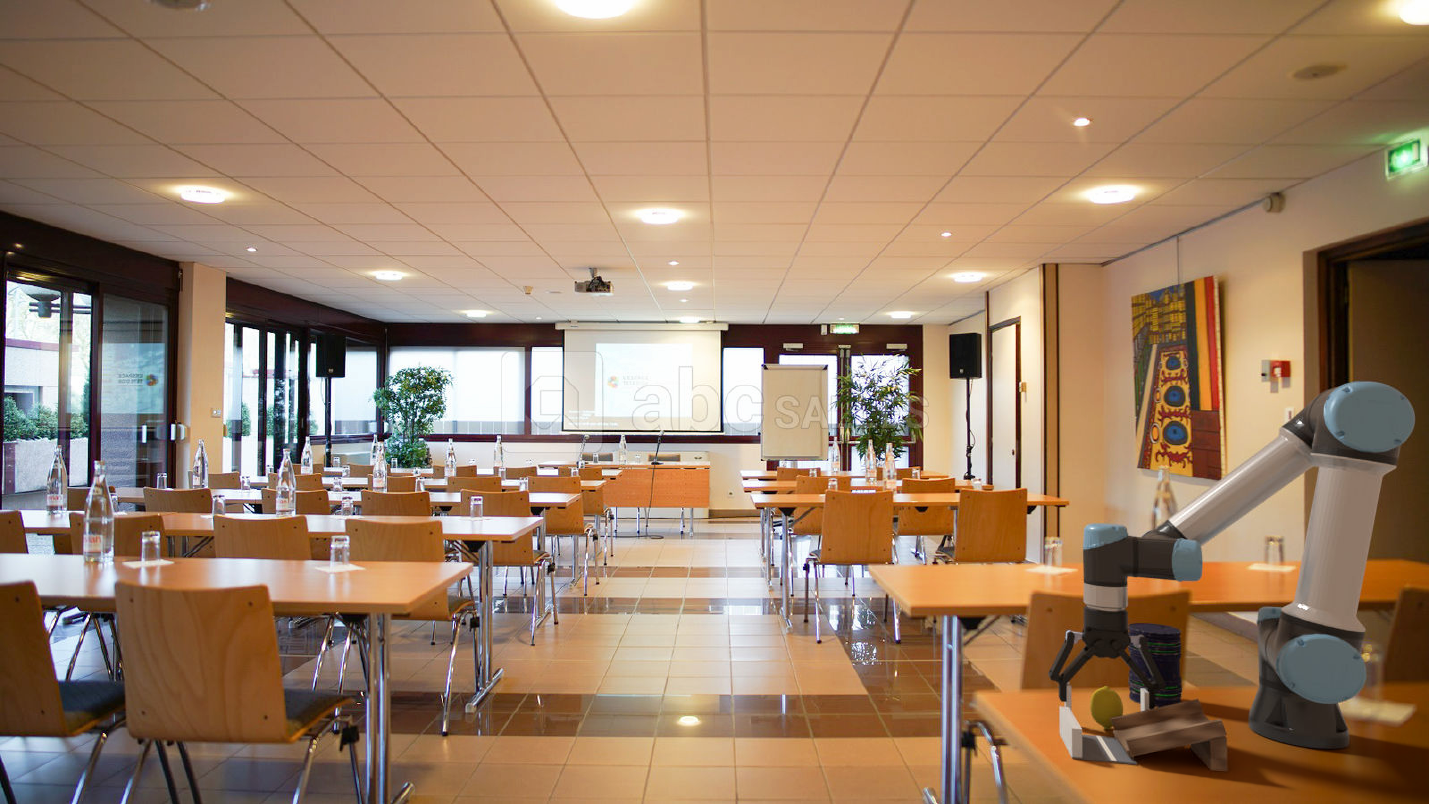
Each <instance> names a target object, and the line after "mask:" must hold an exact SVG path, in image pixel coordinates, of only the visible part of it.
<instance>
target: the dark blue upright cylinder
mask: <svg viewBox="0 0 1429 804" xmlns="http://www.w3.org/2000/svg"><path fill="white" fill-rule="evenodd" d="M1128 634H1129V636H1137V635H1138V634H1142V635H1143V636H1144V637H1145V638H1146V639H1147V642H1148V650H1149V652H1150V654H1151V656H1152V658H1153V660H1154V662H1155V664H1156V666H1157V668H1158V670H1159V672H1160V674H1161V676H1162V678H1163V680H1164V682H1165V684H1166V689H1164V690H1162V689H1160V690H1157V692H1156V693H1155V708H1159V707H1163V706H1168V705H1172V704H1177V703H1181V702H1183V701H1182V700H1181V699H1182V697H1183V695H1182V693H1183V685H1182V677H1181V667H1180V666H1181V661H1180V660H1181V658H1182V642H1181V640H1182V639H1181V629H1179V628H1177V627H1174V626H1170V625H1166V624H1165V625H1164V624H1159V623H1149V622H1148V623H1147V622H1146V623H1145V622H1135V623H1134V622H1133V623H1128ZM1127 649H1128V653H1129V656H1130V657H1131V659H1132V660H1133V661H1134V662H1135V664H1136V665H1137V666H1138V667H1139V669H1140V670H1141V671H1142V672H1143V673H1144V675H1145V676H1146V677H1147V678H1148V679H1149V681H1150V682H1153V681H1154V679H1153V677H1152V675H1151V673H1150V671H1149V669H1148V667H1147V665H1146V663H1145V661H1144V659H1143V657H1142V655H1141V653H1140V651H1139V649H1138V648H1137V647H1135V646H1134V644H1133V643H1132V642H1131V643H1130V645H1129V646H1128V647H1127ZM1141 688H1145V689H1146V687H1145V686H1144V685H1143V683H1142V682H1141V681H1140V680H1139V678H1138V677H1137V676H1136V675H1135V674H1134V672H1133V671H1132V670H1131V669H1130V668H1129V670H1128V689H1129V694H1128V695H1129V699H1130V700H1131V701H1133V702H1135V703H1137V704H1140V705H1141Z"/></svg>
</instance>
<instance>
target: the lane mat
mask: <svg viewBox="0 0 1429 804" xmlns="http://www.w3.org/2000/svg"><path fill="white" fill-rule="evenodd" d="M1096 736H1097V735H1092V734H1091V735H1090V734H1082V758H1081V759H1082V761H1083V760H1084V761H1091V762H1092V761H1093V762H1094V761H1095V762H1104V763H1112V762H1113V763H1115V762H1116V763H1115V764H1124V765H1135V766H1138V763H1137V761H1136V759H1135V758H1134V756H1132V757H1129V756H1128V755H1127V754H1126V752H1125V751H1124V749H1123V748H1122V746H1121V745H1120V743H1119V742H1118V741H1117V739H1116V738H1115V736H1113V737H1112V736H1102V735H1100V736H1101V737H1102V739H1103V741H1104V742H1105V744H1106V745H1107V747H1108V748H1109V750H1110V751H1111V753H1112V754H1113V756H1114V757H1115V759H1116V761H1111V759H1110V757H1109V756H1108V754H1107V753H1106V751H1105V750H1104V748H1103V746H1102V745H1101V743H1100V742H1099V740H1098V739H1097V737H1096ZM1060 737H1062V736H1060ZM1076 758H1077V759H1076ZM1076 758H1075V757H1074V758H1072V757H1071V759H1073V760H1081V759H1079V758H1078V757H1076Z"/></svg>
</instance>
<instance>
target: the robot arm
mask: <svg viewBox="0 0 1429 804" xmlns="http://www.w3.org/2000/svg"><path fill="white" fill-rule="evenodd" d="M1415 423H1416V416H1415V411H1414V408H1413V406H1412V403H1411V401H1410V400H1409V399H1408V398H1407V397H1406V396H1405V395H1404V394H1403V393H1402V392H1400V391H1399V389H1396V388H1395V387H1393V386H1390V385H1388V384H1384V383H1381V382H1376V381H1359V380H1358V381H1357V380H1356V381H1352V382H1348V383H1344V384H1342V385H1340V386H1335V387H1331V388H1329V389H1326V390H1324V391H1322V392H1321V393H1319V394H1318V395H1317V396H1315V397H1314V398H1313V399H1312V400H1311V401H1309V402H1308V404H1307V405H1306V406H1304V407H1303V408H1302V409H1301V410H1300V411H1299V412H1298V413H1296V415H1294V416H1293V417H1292V418H1291V419H1289V420H1288V421H1287V422H1286V423H1285V424H1283V425H1282V426H1280V428H1279V429H1278V436H1277V437H1276V438H1274V439H1273V440H1272V441H1270V442H1268V444H1267V445H1265V446H1264V447H1262V448H1260V450H1258V451H1256V452H1255V453H1254V454H1253V455H1251V456H1250V457H1249V458H1248V459H1246V460H1245V461H1243V462H1242V463H1241V464H1240V465H1238V466H1237V467H1235V468H1234V469H1233V470H1231V471H1230V472H1228V473H1227V474H1226V475H1225V476H1223V477H1222V478H1221V479H1219V480H1218V481H1216V483H1214V484H1213V485H1212V486H1210V487H1209V488H1208V489H1206V490H1205V491H1203V492H1202V493H1201V494H1200V495H1198V496H1197V497H1195V498H1194V499H1193V500H1191V501H1190V502H1189V503H1187V504H1185V506H1183V507H1182V508H1181V509H1179V510H1178V511H1177V512H1175V513H1174V514H1172V515H1171V516H1170V517H1168V519H1166V520H1165V521H1164V522H1162V523H1160V524H1159V525H1158V526H1156V527H1155V528H1154V529H1151V530H1149V531H1148V530H1147V531H1146V532H1145V533H1144V534H1142V536H1133V535H1129V532H1128V528H1127V527H1126V526H1125V525H1122V524H1116V523H1115V524H1114V523H1106V522H1105V523H1088V524H1087V525H1086V526H1085V527H1084V528H1083V544H1082V561H1083V563H1082V564H1083V566H1082V567H1083V569H1082V570H1083V603H1084V604H1085V606H1083V628H1082V631H1081V632H1080V631H1073V630H1071V629H1069V628H1068V629H1066V630H1065V632H1064V633H1065V634H1064V641H1063V643H1062V645H1061V648H1060V649H1059V651H1058V653H1057V655H1056V656H1055V659H1054V661H1053V663H1052V664H1051V667H1050V669H1049V671H1048V673H1047V675H1048V677H1049V678H1050V680H1051V681H1053V682H1056V683H1058V698H1059V700H1060V702H1062V703H1064V707H1069V708H1070V710H1071V712H1072V713H1073V711H1072V708H1073V707H1072V702H1073V701H1072V685H1071V684H1070V682H1071V680H1072V679H1073V678H1074V677H1075V675H1076V674H1077V673H1078V672H1079V671H1080V670H1081V669H1082V668H1083V666H1085V664H1087V662H1089V660H1091V659H1092V658H1093V657H1094V656H1095V657H1097V659H1098V658H1099V659H1104V658H1108V659H1113V660H1116V659H1117V658H1121V659H1122V660H1123V661H1124V663H1125V664H1126V665H1127V667H1128V668H1129V670H1130V669H1131V670H1132V671H1133V672H1134V674H1135V675H1136V676H1137V677H1138V678H1139V680H1140V681H1141V682H1142V683H1143V685H1144V686H1145V687H1146V689H1145V688H1141V704H1140V711H1145V710H1150V709H1154V708H1156V707H1155V693H1156V692H1157V690H1160V689H1162V690H1164V689H1166V684H1165V682H1164V680H1163V678H1162V676H1161V674H1160V672H1159V670H1158V668H1157V666H1156V664H1155V662H1154V660H1153V658H1152V656H1151V654H1150V652H1149V650H1148V642H1147V639H1146V638H1145V637H1144V636H1143V635H1142V634H1138V635H1137V636H1129V629H1128V625H1129V612H1128V610H1127V609H1126V608H1128V606H1129V599H1128V593H1129V592H1128V590H1129V589H1128V584H1129V583H1128V577H1131V578H1145V579H1154V580H1155V579H1156V580H1167V581H1175V582H1176V581H1177V582H1180V583H1182V582H1198V581H1199V580H1201V578H1202V577H1203V576H1202V575H1203V560H1204V559H1203V551H1202V546H1204V545H1205V544H1207V543H1208V542H1209V541H1211V540H1212V539H1214V538H1216V537H1217V536H1218V535H1219V534H1221V533H1222V532H1224V531H1225V530H1226V529H1228V528H1229V527H1231V526H1232V525H1233V524H1235V523H1236V522H1238V521H1239V520H1240V519H1242V518H1243V517H1245V516H1246V515H1248V514H1249V513H1250V512H1251V511H1253V510H1254V509H1256V508H1257V507H1259V506H1260V505H1261V504H1263V503H1264V502H1266V501H1267V500H1268V499H1270V498H1271V497H1272V496H1274V495H1275V494H1276V493H1278V492H1279V491H1281V490H1282V489H1284V488H1285V487H1286V486H1288V485H1290V484H1291V483H1292V482H1293V481H1295V480H1296V479H1298V478H1299V477H1300V476H1302V475H1303V474H1304V473H1306V472H1307V471H1308V470H1310V469H1312V468H1314V467H1315V468H1316V467H1317V468H1318V471H1317V478H1316V483H1315V487H1314V495H1313V498H1312V505H1311V510H1310V513H1309V520H1308V526H1307V529H1306V536H1305V541H1304V547H1303V553H1302V556H1301V562H1300V563H1301V564H1300V566H1299V572H1298V573H1299V574H1298V578H1297V584H1296V588H1295V589H1296V590H1295V595H1294V600H1293V601H1292V602H1291V603H1289V604H1287V605H1285V606H1283V607H1278V606H1276V607H1275V606H1262V607H1260V608H1259V610H1258V611H1257V619H1256V626H1257V648H1258V649H1257V651H1258V653H1257V655H1258V657H1257V658H1258V688H1257V690H1256V693H1255V696H1254V699H1253V700H1252V701H1253V702H1252V705H1251V707H1250V709H1249V712H1248V728H1250V730H1251V731H1253V732H1255V733H1256V734H1258V735H1260V736H1262V737H1265V738H1267V739H1271V740H1274V741H1276V742H1281V743H1283V744H1289V745H1293V746H1298V747H1303V748H1311V749H1312V748H1313V749H1326V750H1329V749H1330V750H1332V749H1333V750H1334V749H1335V750H1336V749H1343V748H1347V747H1348V746H1350V731H1349V727H1348V725H1347V722H1346V720H1345V717H1344V714H1343V713H1342V709H1341V708H1340V705H1339V704H1340V703H1343V702H1347V701H1349V700H1351V699H1352V698H1354V697H1355V696H1357V695H1358V694H1359V693H1360V692H1361V691H1362V689H1363V688H1364V685H1365V684H1366V681H1367V666H1366V664H1365V663H1366V662H1365V659H1364V658H1363V656H1362V651H1363V644H1364V641H1365V634H1366V629H1367V628H1365V626H1364V625H1363V624H1362V623H1361V621H1360V620H1359V619H1358V617H1357V612H1358V608H1359V602H1360V597H1361V592H1362V586H1363V583H1364V578H1365V571H1366V565H1367V561H1368V556H1369V550H1370V545H1371V540H1372V534H1373V529H1374V524H1375V520H1376V519H1375V518H1376V513H1377V509H1378V508H1377V507H1378V504H1379V503H1378V502H1379V499H1380V491H1381V488H1382V481H1383V477H1384V476H1385V475H1387V474H1388V473H1390V472H1392V471H1394V470H1396V469H1397V465H1398V462H1399V461H1398V460H1399V457H1400V452H1401V447H1402V444H1404V443H1405V442H1406V441H1407V439H1408V438H1409V437H1410V436H1411V434H1412V433H1413V430H1414V427H1415ZM1079 640H1082V642H1083V643H1084V644H1085V645H1084V646H1083V648H1082V649H1081V650H1080V652H1079V653H1078V655H1076V657H1075V658H1074V659H1073V660H1072V661H1071V662H1070V664H1068V665H1067V667H1066V668H1065V669H1064V670H1063V668H1064V666H1065V663H1066V661H1067V659H1068V658H1069V656H1070V654H1071V652H1072V650H1073V649H1074V645H1075V644H1078V641H1079ZM1131 642H1132V643H1133V644H1134V646H1135V647H1137V648H1138V649H1139V651H1140V653H1141V655H1142V657H1143V659H1144V661H1145V663H1146V665H1147V667H1148V669H1149V671H1150V673H1151V675H1152V677H1153V679H1154V681H1153V682H1150V681H1149V679H1148V678H1147V677H1146V676H1145V675H1144V673H1143V672H1142V671H1141V670H1140V669H1139V667H1138V666H1137V665H1136V664H1135V662H1134V661H1133V660H1132V659H1131V657H1130V654H1128V652H1126V649H1128V647H1129V645H1130V643H1131ZM1062 670H1063V671H1062Z"/></svg>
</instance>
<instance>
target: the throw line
mask: <svg viewBox="0 0 1429 804" xmlns="http://www.w3.org/2000/svg"><path fill="white" fill-rule="evenodd" d="M1095 736H1096V737H1097V739H1098V740H1099V742H1100V743H1101V745H1102V746H1103V748H1104V750H1105V751H1106V753H1107V754H1108V756H1109V757H1110V759H1111V761H1116V759H1115V757H1114V756H1113V754H1112V753H1111V751H1110V750H1109V748H1108V747H1107V745H1106V744H1105V742H1104V741H1103V739H1102V737H1101V736H1102V735H1095ZM1111 763H1113V762H1111ZM1115 764H1117V763H1116V762H1115Z"/></svg>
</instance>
